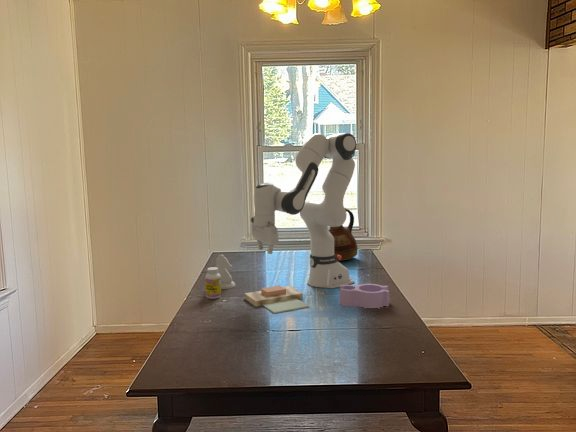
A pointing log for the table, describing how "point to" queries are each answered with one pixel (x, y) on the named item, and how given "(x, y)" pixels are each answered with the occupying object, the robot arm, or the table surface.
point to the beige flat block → (261, 299)
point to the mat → (285, 305)
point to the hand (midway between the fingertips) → (265, 251)
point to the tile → (273, 291)
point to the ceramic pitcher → (344, 240)
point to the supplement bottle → (213, 283)
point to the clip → (364, 295)
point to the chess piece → (224, 272)
